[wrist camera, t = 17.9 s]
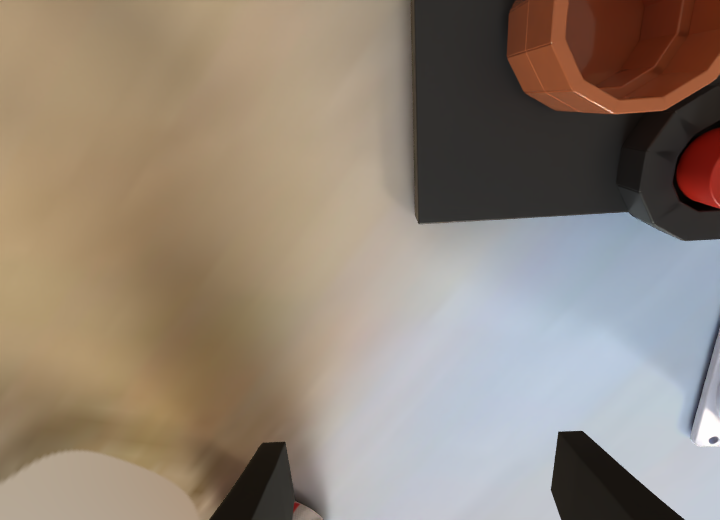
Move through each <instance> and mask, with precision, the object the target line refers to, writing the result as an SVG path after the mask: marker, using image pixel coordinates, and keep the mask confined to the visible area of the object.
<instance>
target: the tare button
mask: <svg viewBox="0 0 720 520" xmlns="http://www.w3.org/2000/svg"><path fill="white" fill-rule="evenodd" d="M676 180H677V184H678V187H679V189H680V190H681V192H682V193H683V194H684V195H685V196H686V197H687V198H689V199H691V200H693V201H696V202H700V203H703V204H706V205H709V206H712V207H716V208H719V209H720V127H719V128H715V129H712V130H710V131H707V132H705V133H703V134H702V135H700V136H699V137H697V138H696V139H695V140H693V141H692V142H691V143H690V144H689V146H688V147H687V148H686V149H685V151H684V152H683V154H682V155H681V157H680V160H679V162H678V165H677V170H676Z"/></svg>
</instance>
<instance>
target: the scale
mask: <svg viewBox="0 0 720 520" xmlns="http://www.w3.org/2000/svg"><path fill="white" fill-rule="evenodd" d="M514 2H515V0H411V42H412V90H413V137H414V184H415V216H416V219H417V221H418V224H432V223H449V222H466V221H483V220H500V219H517V218H534V217H551V216H568V215H585V214H602V213H618V212H629V213H630V214H631V215H632V216H634V217H635V218H637V219H639V220H641V221H643V222H645V223H647V224H648V225H650V226H652V227H654V228H656V229H658V230H660V231H662V232H664V233H667V234H669V235H671V236H673V237H676V238H678V239H680V240H684V241H693V240H711V239H720V209H719V208H716V207H712V206H709V205H706V204H703V203H700V202H696V201H693V200H691V199H689V198H687V197H686V196H685V195H684V194H683V193H682V192H681V190H680V189H679V187H678V184H677V180H676V170H677V165H678V162H679V160H680V157H681V155H682V154H683V152H684V151H685V149H686V148H687V147H688V146H689V144H690V143H691V142H692V141H693V140H695V139H696V138H697V137H699V136H700V135H702V134H703V133H705V132H707V131H710V130H712V129H715V128H719V127H720V74H719V76H718V77H717V78H716V79H715V80H714V81H713V82H711V83H710V84H708V85H706V86H705V87H703V88H701V89H700V90H698V91H696V92H695V93H693V94H691V95H690V96H688V97H686V98H685V99H683V100H681V101H680V102H678V103H676V104H675V105H673V106H671V107H670V108H668V109H666V110H663V111H655V112H641V113H626V114H600V113H583V112H568V111H556V110H554V109H552V108H550V107H548V106H547V105H545V104H543V103H541V102H539V101H538V100H536V99H534V98H532V97H531V96H529V95H527V94H525V92H524V91H523V89H522V87H521V85H520V83H519V81H518V79H517V77H516V75H515V73H514V71H513V69H512V67H511V65H510V63H509V61H508V59H507V40H508V21H509V12H510V9H511V7H512V5H513V3H514Z"/></svg>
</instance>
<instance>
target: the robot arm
mask: <svg viewBox="0 0 720 520" xmlns="http://www.w3.org/2000/svg"><path fill="white" fill-rule="evenodd" d="M690 439H691V441H692V442H693V443H694V444H695V445H696V446H699V447H711V446H720V329H719V333H718V336H717V340H716V344H715V347H714V351H713V355H712V358H711V362H710V366H709V369H708V373H707V377H706V380H705V384H704V388H703V391H702V395H701V399H700V402H699V406H698V410H697V413H696V417H695V421H694V424H693V428H692V431H691V435H690ZM551 491H552V494H553V497H554V500H555V503H556V506H557V509H558V512H559V515H560V517H561V520H684V519H683V518H682V517H681V516H680V515H678V514H677V513H676V512H675V511H673V510H672V509H671V508H670V507H669V506H667V505H666V504H665V503H664V502H663V501H661V500H660V499H659V498H658V497H657V496H656V495H654V494H653V493H652V492H651V491H650V490H648V489H647V488H646V487H645V486H644V485H643V484H641V483H640V482H639V481H638V480H637V479H636V478H635V477H633V476H632V475H631V474H630V473H629V472H628V471H627V470H626V469H624V468H623V467H622V466H621V465H620V464H619V463H618V462H617V461H615V460H614V459H613V458H612V457H611V456H610V455H609V454H608V453H607V452H605V451H604V450H603V449H602V448H601V447H600V446H599V445H598V444H597V443H595V442H594V441H593V440H592V439H591V438H590V437H589V436H588V435H586V434H585V433H584V432H583V431H566V432H558V439H557V447H556V455H555V462H554V470H553V478H552V486H551ZM294 501H295V496H294V490H293V484H292V478H291V472H290V466H289V460H288V454H287V449H286V443H285V442H269V443H262V444H261V445H260V446H259V448H258V450H257V451H256V453H255V454H254V456H253V457H252V459H251V460H250V462H249V464H248V465H247V467H246V468H245V470H244V471H243V473H242V474H241V476H240V477H239V479H238V480H237V482H236V483H235V485H234V486H233V487H232V489H231V490H230V492H229V493H228V495H227V496H226V497H225V499H224V500H223V502H222V503H221V504H220V506H219V507H218V509H217V510H216V511H215V513H214V514H213V515H212V517H211V518H210V519H209V520H292V518H293V509H294Z"/></svg>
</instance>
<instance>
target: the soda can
mask: <svg viewBox="0 0 720 520" xmlns="http://www.w3.org/2000/svg"><path fill="white" fill-rule="evenodd" d="M292 520H324V519H323V518H322V517H321V516H320V515H318V514H317V513H316V512H315V511H313V510H312V509H310V508H308V507H307V506H304V505H303V504H301V503H299V502H296V501H294V509H293V518H292Z"/></svg>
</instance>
